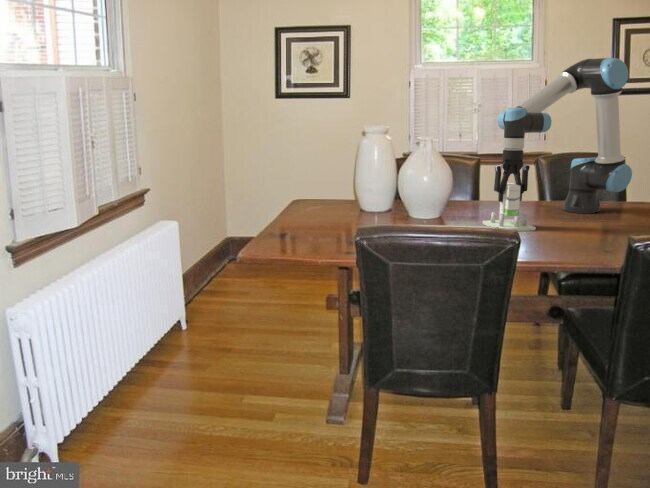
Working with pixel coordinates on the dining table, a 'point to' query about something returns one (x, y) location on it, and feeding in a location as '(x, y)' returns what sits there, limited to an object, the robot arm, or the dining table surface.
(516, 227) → the pin tray
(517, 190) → the ink box
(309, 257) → the dining table surface
